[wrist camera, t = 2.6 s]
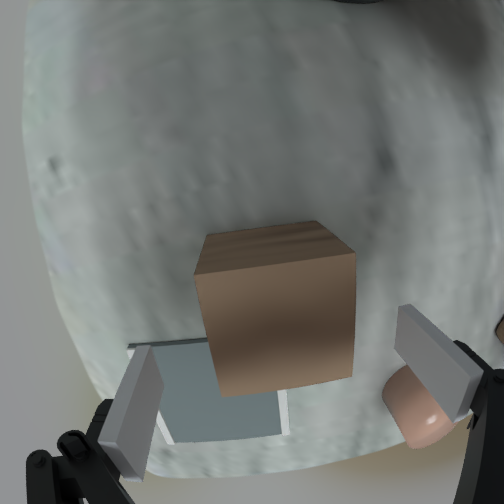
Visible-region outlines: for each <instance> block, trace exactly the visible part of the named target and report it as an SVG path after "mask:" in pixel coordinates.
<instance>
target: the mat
mask: <svg viewBox="0 0 504 504" xmlns="http://www.w3.org/2000/svg"><path fill="white" fill-rule="evenodd" d="M143 345H151V348H152V351H153V354H154V357H155V360H156V363H157V366H158V369H159V372H160V374H161V377H162V380H163V383H164V389H163V394H162V398H161V402H160V406H159V410H158V414H157V419H156V421H157V423H158V426H159V428H160V430H161V432H162V434H163V436H164V438H165V440H166V442H167V444H175V442H207V441H224V440H236V439H246V438H255V437H263V436H271V435H278V434H282V436H285V435H290V430H289V417H288V404H287V392H286V389H285V390H278V391H271V392H264V393H257V394H248V395H240V396H230V397H222V396H221V392H220V388H219V384H218V380H217V377H216V373H215V368H214V364H213V360H212V356H211V352H210V348H209V343H208V339H207V338H204V339H194V340H183V341H171V342H159V343H144V344H129V346H128V348H127V353H128V356H129V358H130V360H131V358H132V356H133V354H134V351H135V349H136V347H137V346H143Z"/></svg>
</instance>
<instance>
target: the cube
mask: <svg viewBox="0 0 504 504" xmlns="http://www.w3.org/2000/svg"><path fill="white" fill-rule="evenodd" d="M194 279H195V284H196V289H197V294H198V298H199V303H200V308H201V312H202V317H203V321H204V326H205V330H206V335H207V339H208V343H209V348H210V352H211V356H212V360H213V364H214V368H215V373H216V377H217V380H218V384H219V388H220V392H221V396H222V397H230V396H240V395H248V394H257V393H264V392H271V391H278V390H285V389H291V388H297V387H303V386H308V385H314V384H319V383H324V382H329V381H334V380H338V379H343V378H347V377H352V371H353V357H354V339H355V314H356V252H354V251H353V250H352V249H351V248H349V247H348V246H347V245H346V244H345V243H343V242H342V241H341V240H340V239H338V238H337V237H336V236H335V235H334V234H332V233H331V232H330V231H329V230H327V229H326V228H325V227H324V226H322V225H321V224H320V223H318V222H317V221H310V222H302V223H294V224H286V225H278V226H271V227H263V228H255V229H248V230H240V231H233V232H226V233H219V234H211V235H207V236H206V239H205V242H204V245H203V248H202V251H201V254H200V258H199V261H198V264H197V267H196V270H195V273H194Z"/></svg>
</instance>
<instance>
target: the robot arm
mask: <svg viewBox="0 0 504 504" xmlns="http://www.w3.org/2000/svg"><path fill="white" fill-rule="evenodd" d="M336 1H342V2H350V3H372V2H379V1H383V0H336ZM394 349H395V350H396V351H397V352H398V354H399V355H400V356H401V357H402V359H403V360H404V361H405V362H406V363H407V365H408V366H409V367H410V368H411V370H412V371H413V372H414V374H415V375H416V376H417V377H418V379H419V380H420V381H421V382H422V384H423V385H424V386H425V387H426V389H427V390H428V391H429V393H430V394H431V395H432V397H433V398H434V399H435V400H436V402H437V403H438V404H439V406H440V407H441V408H442V410H443V411H444V412H445V414H446V415H447V416H448V418H449V419H450V420H451V422H452V423H455V422H457V421H459V420H461V419H463V418H465V417H466V416H467V413H468V411H469V409H471V410H472V411H473V412H474V413H473V415H472V418H471V420H470V422H469V424H468V427H467V429H469V427H470V432H469V438H468V444H467V449H466V454H465V459H464V464H463V468H462V473H461V477H460V481H459V485H458V488H457V492H456V495H455V499H454V502H453V504H504V369H495V370H493V369H492V368H491V367H490V366H489V365H488V364H487V363H486V362H485V361H484V360H483V359H482V358H481V357H479V356H478V355H476V353H475V352H474V351H472V349H471V348H470V347H468V346H467V345H466V344H465V343H463V342H460V341H458V340H455V341H452V340H450V339H449V338H448V337H447V336H446V335H445V334H444V333H443V332H442V331H441V330H439V329H438V328H437V327H436V326H435V325H434V324H433V323H432V322H431V321H429V320H428V319H427V318H426V317H425V316H424V315H423V314H421V313H420V312H419V311H418V310H417V309H416V308H415V307H413V306H412V305H411V304H407V305H403V306H399V308H398V319H397V329H396V338H395V346H394ZM163 389H164V383H163V380H162V377H161V374H160V372H159V369H158V366H157V363H156V360H155V357H154V354H153V351H152V348H151V345H143V346H137V347H136V349H135V351H134V354H133V356H132V358H131V360H130V363H129V365H128V367H127V369H126V372H125V374H124V376H123V379H122V381H121V383H120V386H119V388H118V391H117V393H116V395H115V398H114V399H105V400H104V401H103V402H102V403H101V404H100V405H99V406H98V408H97V410H96V412H95V416H94V417H93V419H92V422H91V423H90V426H89V428H88V430H87V433H86V435H85V434H84V433H83V432H81V431H79V430H71V431H68V432H66V433H64V434H63V435H61V437H60V438H59V439H58V442H57V448H58V449H59V451H60V452H61V453H62V455H63V456H57V457H52V456H51V455H50V454H49V453H48V452H47V451H46V450H36V451H34V452H32V453H31V454H30V455H29V456H28V458H27V461H26V487H27V504H84V502H83V498H86V499H87V501H88V503H89V504H135V503H134V501H133V500H132V499H131V497H130V496H129V494H128V493H127V492H126V490H125V489H124V488H123V486H122V485H121V483H120V482H119V478H120V474H121V475H122V476H123V478H124V479H125V480H126V481H135V482H143V478H144V473H145V469H146V464H147V459H148V454H149V450H150V445H151V441H152V436H153V432H154V427H155V423H156V419H157V414H158V410H159V406H160V402H161V398H162V394H163Z"/></svg>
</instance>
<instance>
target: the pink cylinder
mask: <svg viewBox="0 0 504 504" xmlns="http://www.w3.org/2000/svg"><path fill="white" fill-rule="evenodd" d="M382 398H383V401H384V402H385V404H386V406H387V408H388V409H389V411H390V413H391V415H392V417H393V418H394V420H395V422H396V424H397V426H398V427H399V429H400V431H401V433H402V435H403V436H404V438H405V440H406V442H407V444H408V446H409V447H410V448H414V449H419V448H423V447H426V446H429V445H431V444H433V443H435V442H437V441H438V440H440V439H441V438H443V437H444V436H445V435H446V434H448V433H449V432H450V431H451V430H452V429H453V428H454V427H455V425H456V424H457V423H458V421H457V422H455V423H452V422H451V420H450V419H449V418H448V416H447V415H446V414H445V412H444V411H443V410H442V408H441V407H440V406H439V404H438V403H437V402H436V400H435V399H434V398H433V397H432V395H431V394H430V393H429V391H428V390H427V389H426V387H425V386H424V385H423V384H422V382H421V381H420V380H419V379H418V377H417V376H416V375H415V374H414V372H413V371H412V370H411V368H410V367H409V366H408V365H406V366H404V367H402V368H401V369H399V370H398V371H397V372H396V373H395V374H394V375H393V376H392V377H391V378H390V379H389V380H388V382H387V383H386V385H385V387H384V389H383V392H382Z"/></svg>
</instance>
